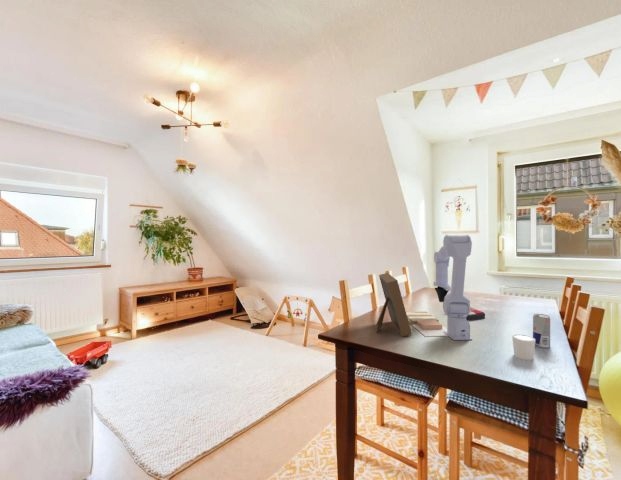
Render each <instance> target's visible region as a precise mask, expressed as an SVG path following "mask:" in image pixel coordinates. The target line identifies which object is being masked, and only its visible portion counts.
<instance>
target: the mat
mask: <svg viewBox="0 0 621 480" xmlns="http://www.w3.org/2000/svg"><path fill="white" fill-rule="evenodd" d="M411 326H412V327H413V328H414V329H416V330H417V331H418V332H419V333H420V334H421V335H422V336H424V337H425V338H433V337H436V338H437V337H438V338H439V337H449V336H448V335H447V334H445V333H444V331H447V327H446V326H444V325H443V324H442V329H433V330H423V329H422V328H420V327H419V326H418V325H417V324H411Z"/></svg>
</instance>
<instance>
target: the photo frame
mask: <svg viewBox="0 0 621 480" xmlns="http://www.w3.org/2000/svg"><path fill="white" fill-rule="evenodd" d="M378 276H379V280H380V284H381V287H382V292H383V295H384V299H385V302H384V305H383V307H382V309H381V311H380V314H379V317H378V319H377V321H376V325H375V326H376V327H375V333H376V334H377V333H378V332H380V331H381V330H382V325H383V321H384V318H385V314H386V311H388V313H389V318H390V321H391V323H392V324H393V326H394V327H395V329H396V330H397V332H398V333H399V335H400V336H401V337H402V338H403V337H407V336H412V335H413V334H412V331H411V326H410V322H409V321H408V318H407V315H406V312H407V311H406V307H405V304H404V300H403V295H402V292H401V289H400V285H399V282H398V280H397V279H396V277H394V276H392V275H391V274H389V273H388V272H386V273H385V272H384V273H382V274H378ZM387 309H388V310H387Z"/></svg>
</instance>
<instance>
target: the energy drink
mask: <svg viewBox="0 0 621 480" xmlns="http://www.w3.org/2000/svg"><path fill="white" fill-rule="evenodd" d="M532 337H533V338H534V339H535V347H538V348H540V349H541V348H542V349H549V348H550V347H551V318H550V315H548V314H542V313H534V314H533V316H532Z"/></svg>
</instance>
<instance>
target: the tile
mask: <svg viewBox="0 0 621 480" xmlns="http://www.w3.org/2000/svg"><path fill="white" fill-rule="evenodd" d="M416 324H417V325H418V326H419V327H420V328H422V329H423V330H433V329H442V325H443V323H440V322H437V321H436V320H416Z"/></svg>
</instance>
